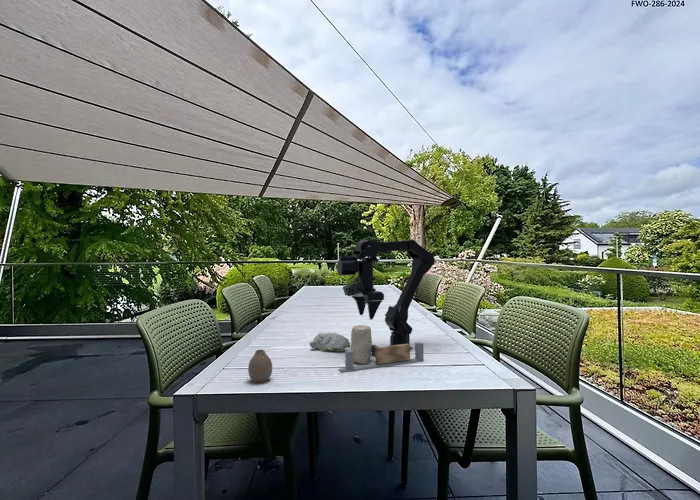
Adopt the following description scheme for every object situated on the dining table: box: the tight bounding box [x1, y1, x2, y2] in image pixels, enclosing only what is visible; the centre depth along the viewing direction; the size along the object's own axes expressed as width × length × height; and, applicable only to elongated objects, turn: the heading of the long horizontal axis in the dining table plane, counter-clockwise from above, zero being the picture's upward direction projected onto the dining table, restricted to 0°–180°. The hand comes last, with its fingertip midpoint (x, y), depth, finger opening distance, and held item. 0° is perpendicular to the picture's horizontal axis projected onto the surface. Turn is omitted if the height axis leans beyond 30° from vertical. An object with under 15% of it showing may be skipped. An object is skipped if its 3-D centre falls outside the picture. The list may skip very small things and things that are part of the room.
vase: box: [247, 349, 273, 384], centre depth 109 cm, size 7×7×9 cm
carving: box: [349, 324, 373, 364], centre depth 125 cm, size 6×8×12 cm
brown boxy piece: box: [371, 344, 411, 364], centre depth 125 cm, size 12×7×5 cm, turn 111°
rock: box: [309, 332, 351, 353], centre depth 141 cm, size 16×7×7 cm, turn 67°
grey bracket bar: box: [338, 341, 425, 374], centre depth 121 cm, size 30×2×6 cm, turn 111°
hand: (366, 317), depth 137 cm, fingers open, 9 cm apart
